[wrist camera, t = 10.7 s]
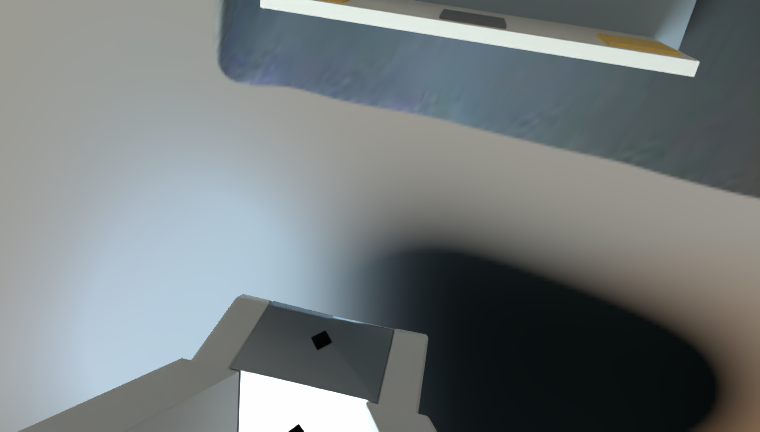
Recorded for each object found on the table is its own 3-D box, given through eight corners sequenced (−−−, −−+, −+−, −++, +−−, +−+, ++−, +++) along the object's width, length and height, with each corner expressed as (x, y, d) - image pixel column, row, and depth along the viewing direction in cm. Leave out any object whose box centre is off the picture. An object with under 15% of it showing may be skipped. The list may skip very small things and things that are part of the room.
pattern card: (651, 33, 27) (701, 57, 21) (646, 49, 28) (693, 76, 22) (308, -20, 29) (260, -12, 23) (307, -5, 29) (260, 7, 23)
